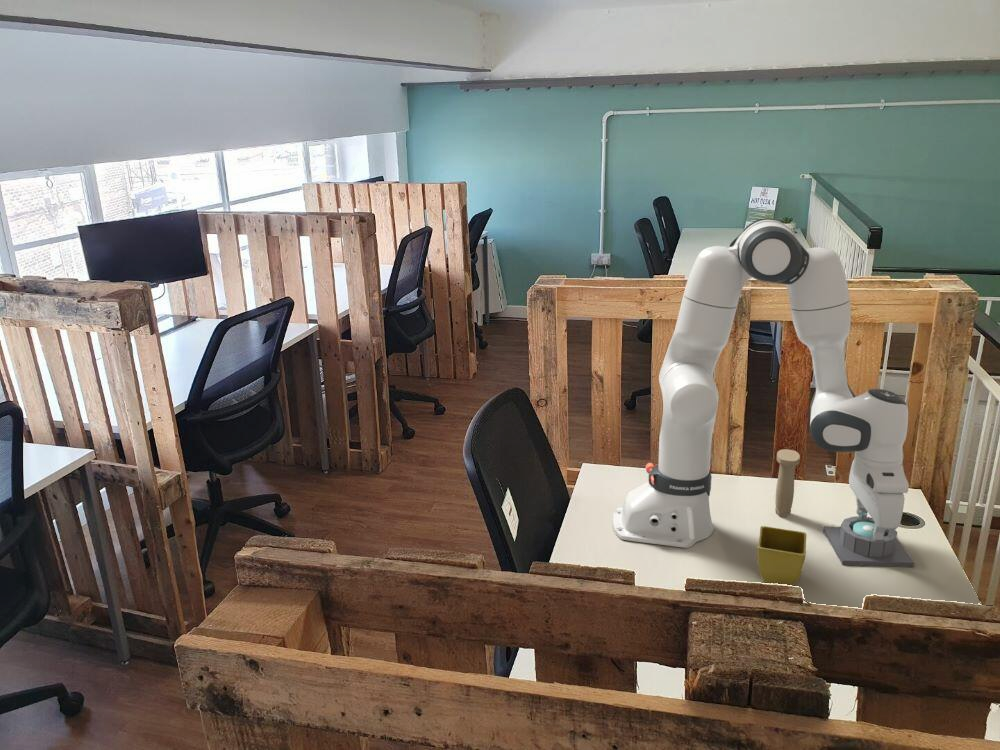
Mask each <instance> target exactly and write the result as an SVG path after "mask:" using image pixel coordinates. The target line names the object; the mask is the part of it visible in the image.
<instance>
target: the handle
mask: <svg viewBox="0 0 1000 750" xmlns="http://www.w3.org/2000/svg"><path fill="white" fill-rule="evenodd" d="M800 455H801V454H799V452H798V451H796V450H794V449H779V450H778V451H777V453H776V462H777V463H778V464H779V468H778V476H777V482H776V489H775V508H774V509H775V514H776V515H778V517H785V518H787V517H788V516H790V515H791V513H792V507H793V503H794V502H793V501H794V495H795V472H796V466H797V465H799V464H800V459H801V457H800Z"/></svg>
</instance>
